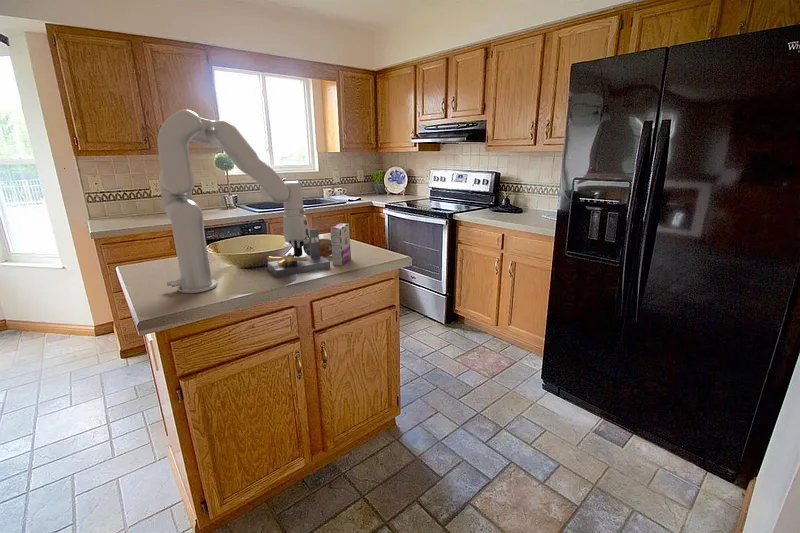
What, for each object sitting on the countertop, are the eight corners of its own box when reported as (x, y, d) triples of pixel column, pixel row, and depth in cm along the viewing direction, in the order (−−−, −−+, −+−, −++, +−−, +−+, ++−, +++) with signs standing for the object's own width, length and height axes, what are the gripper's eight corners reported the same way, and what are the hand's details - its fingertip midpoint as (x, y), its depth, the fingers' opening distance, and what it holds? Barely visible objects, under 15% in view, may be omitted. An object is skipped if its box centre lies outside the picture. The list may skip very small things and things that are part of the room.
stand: (277, 277, 146) (273, 240, 142) (267, 269, 157) (263, 233, 153) (330, 268, 157) (328, 233, 153) (317, 260, 169) (315, 227, 164)
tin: (303, 255, 177) (302, 238, 175) (306, 254, 180) (305, 237, 178) (333, 257, 174) (332, 239, 172) (336, 255, 177) (334, 238, 175)
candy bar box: (340, 258, 172) (339, 223, 167) (351, 259, 171) (349, 223, 166) (331, 265, 162) (329, 227, 157) (342, 266, 161) (340, 228, 156)
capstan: (300, 270, 143) (300, 261, 142) (258, 269, 145) (257, 260, 144) (314, 259, 159) (314, 250, 158) (276, 258, 161) (275, 249, 160)
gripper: (315, 211, 153) (319, 255, 159) (283, 210, 158) (288, 252, 163) (305, 214, 146) (309, 259, 152) (272, 213, 151) (278, 257, 156)
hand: (298, 256), depth 157 cm, fingers closed
